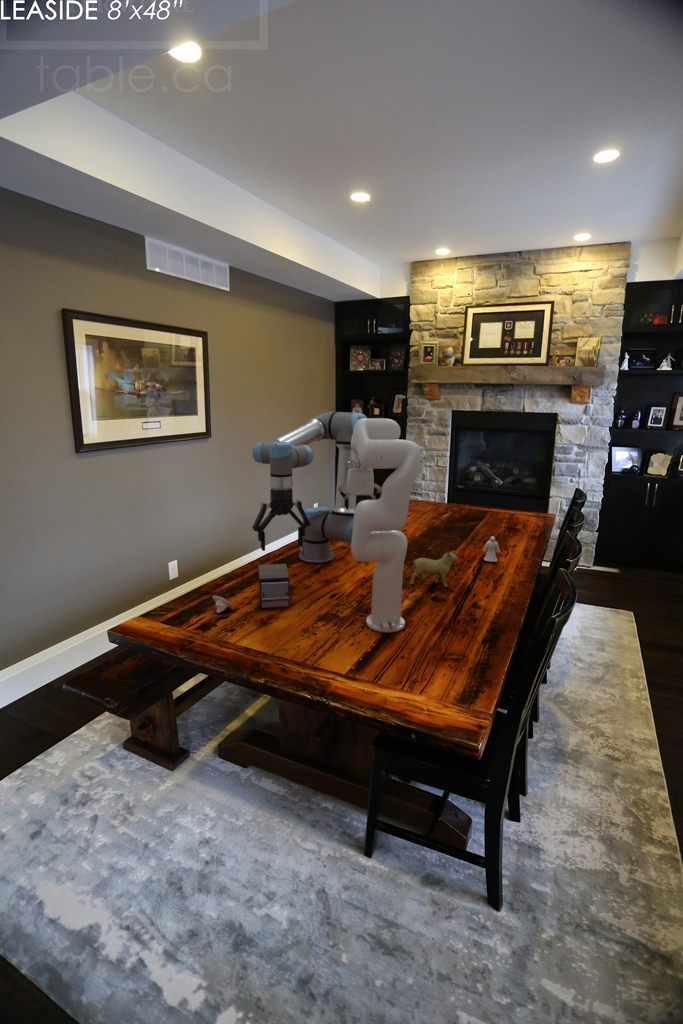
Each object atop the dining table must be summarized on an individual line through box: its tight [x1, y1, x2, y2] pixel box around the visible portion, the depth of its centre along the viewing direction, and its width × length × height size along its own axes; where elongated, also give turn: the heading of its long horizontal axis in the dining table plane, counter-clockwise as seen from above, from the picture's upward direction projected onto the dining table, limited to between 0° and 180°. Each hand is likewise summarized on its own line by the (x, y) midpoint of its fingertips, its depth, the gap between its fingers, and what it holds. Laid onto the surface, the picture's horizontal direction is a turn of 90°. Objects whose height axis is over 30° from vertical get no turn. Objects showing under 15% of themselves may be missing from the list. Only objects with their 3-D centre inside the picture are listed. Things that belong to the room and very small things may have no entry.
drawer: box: [261, 580, 290, 608], centre depth 173 cm, size 18×9×9 cm, turn 11°
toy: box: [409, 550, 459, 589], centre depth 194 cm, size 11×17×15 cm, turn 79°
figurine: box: [482, 535, 501, 563], centre depth 223 cm, size 8×8×12 cm
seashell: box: [212, 594, 235, 614], centre depth 169 cm, size 8×5×8 cm
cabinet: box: [258, 563, 290, 609], centre depth 179 cm, size 14×10×11 cm
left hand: (282, 547), depth 175 cm, fingers open, 13 cm apart
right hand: (359, 508), depth 194 cm, fingers open, 9 cm apart
